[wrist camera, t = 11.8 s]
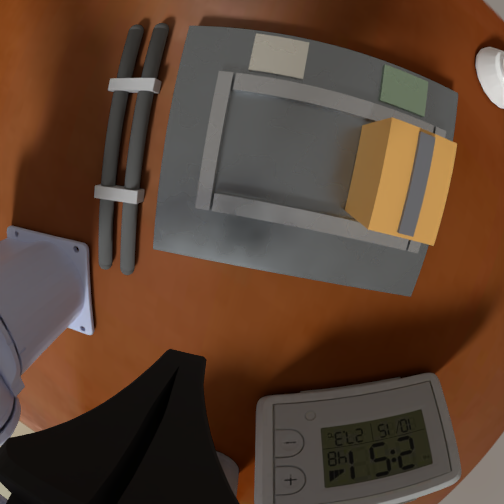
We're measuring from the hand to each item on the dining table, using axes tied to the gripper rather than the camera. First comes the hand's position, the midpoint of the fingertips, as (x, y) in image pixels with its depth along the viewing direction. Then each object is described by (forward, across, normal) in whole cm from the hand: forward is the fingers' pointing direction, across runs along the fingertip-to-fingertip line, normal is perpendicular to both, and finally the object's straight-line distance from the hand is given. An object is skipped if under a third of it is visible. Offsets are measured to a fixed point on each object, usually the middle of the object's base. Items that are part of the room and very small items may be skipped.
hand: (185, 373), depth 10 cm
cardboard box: (+9, -8, -8) cm, 14 cm away
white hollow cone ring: (+10, -17, -19) cm, 27 cm away
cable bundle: (+10, +8, -7) cm, 14 cm away
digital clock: (+10, -12, +10) cm, 19 cm away
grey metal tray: (+10, -4, -8) cm, 13 cm away
